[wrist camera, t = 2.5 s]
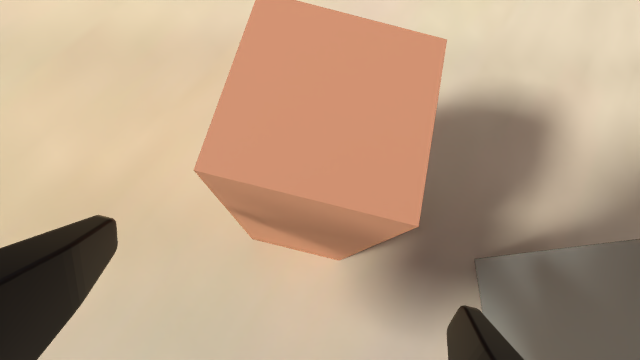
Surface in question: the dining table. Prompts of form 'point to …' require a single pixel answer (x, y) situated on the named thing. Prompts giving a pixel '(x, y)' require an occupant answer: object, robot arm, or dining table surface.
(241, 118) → the terracotta block
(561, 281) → the slate grey block
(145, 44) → the dining table surface
